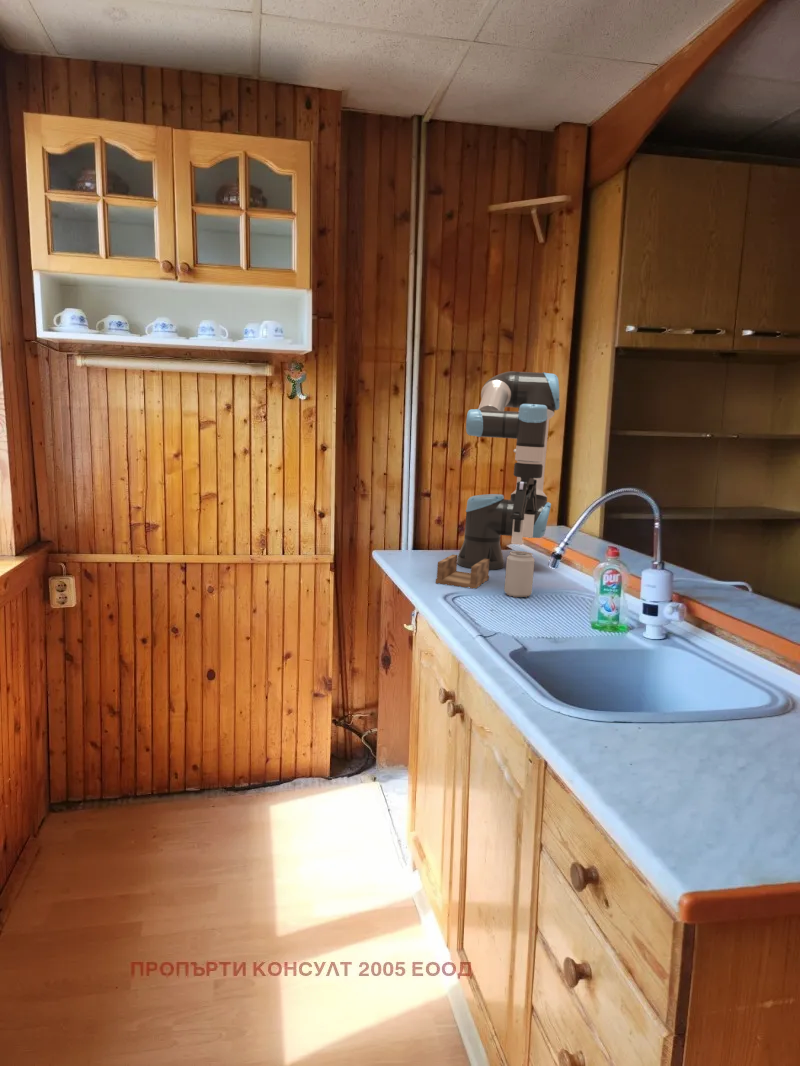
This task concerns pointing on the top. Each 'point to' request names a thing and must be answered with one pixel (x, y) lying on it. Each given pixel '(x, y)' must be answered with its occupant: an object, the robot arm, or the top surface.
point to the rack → (462, 573)
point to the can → (519, 574)
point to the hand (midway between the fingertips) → (522, 540)
